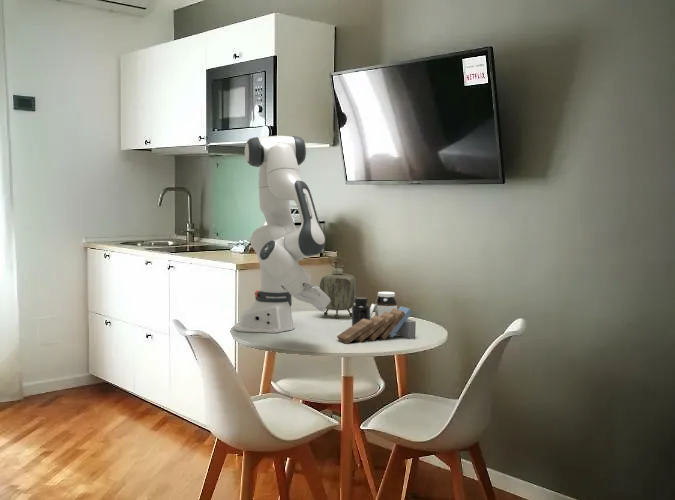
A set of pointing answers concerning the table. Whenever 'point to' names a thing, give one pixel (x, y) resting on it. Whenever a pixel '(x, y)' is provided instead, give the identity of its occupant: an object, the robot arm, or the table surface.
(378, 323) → the domino
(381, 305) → the spread jar
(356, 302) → the supplement bottle
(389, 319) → the domino
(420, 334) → the table surface
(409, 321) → the end stop
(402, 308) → the domino
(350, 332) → the domino
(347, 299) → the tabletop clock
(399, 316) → the domino
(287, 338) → the table surface
